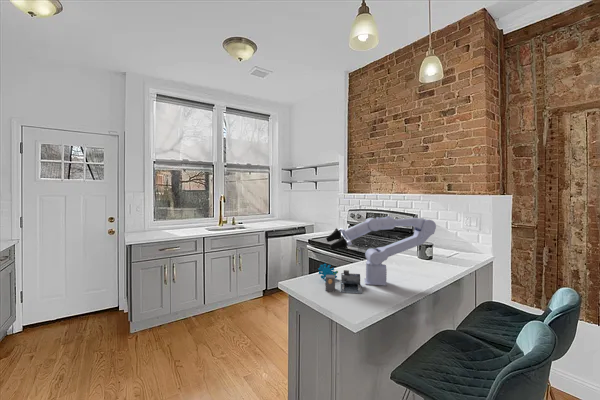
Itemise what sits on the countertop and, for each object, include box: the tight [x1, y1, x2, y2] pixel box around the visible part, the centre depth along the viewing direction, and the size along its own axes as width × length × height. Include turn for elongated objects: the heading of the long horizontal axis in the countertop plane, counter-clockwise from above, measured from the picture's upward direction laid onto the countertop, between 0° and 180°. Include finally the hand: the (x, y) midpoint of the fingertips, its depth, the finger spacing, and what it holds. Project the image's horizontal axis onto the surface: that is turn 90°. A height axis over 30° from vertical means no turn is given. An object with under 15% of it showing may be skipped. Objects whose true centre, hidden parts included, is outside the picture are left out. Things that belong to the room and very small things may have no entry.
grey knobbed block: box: [325, 275, 336, 292], centre depth 126 cm, size 4×5×6 cm
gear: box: [317, 263, 339, 282], centre depth 141 cm, size 11×6×10 cm
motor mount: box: [340, 269, 363, 295], centre depth 128 cm, size 9×12×7 cm
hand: (328, 243), depth 135 cm, fingers open, 7 cm apart
